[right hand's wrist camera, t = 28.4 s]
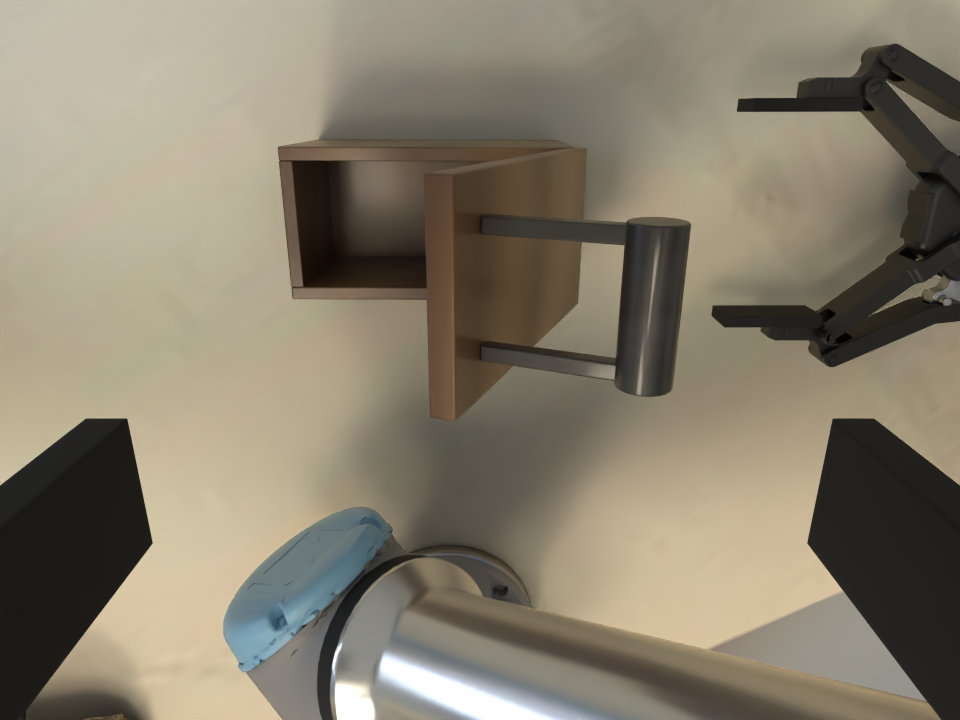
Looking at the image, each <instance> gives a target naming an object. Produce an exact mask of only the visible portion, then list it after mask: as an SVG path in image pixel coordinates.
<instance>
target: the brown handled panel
mask: <svg viewBox="0 0 960 720" xmlns="http://www.w3.org/2000/svg"><path fill="white" fill-rule="evenodd" d="M586 152H587V150H586V149H585V148H566V149H560V150H554V151H549V152H543V153H537V154H532V155H526V156H520V157H514V158H509V159H503V160H497V161H491V162H486V163H480V164H474V165H468V166H463V167H457V168H451V169H445V170H440V171H434V172H428V173H425V174H424V204H425V242H426V281H427V320H428V359H429V397H430V417H433V418H438V419H444V420H449V421H457V420H458V419H459V418H460V417H461V416H462V415H463V414H464V413H465V412H466V411H467V410H468V409H469V408H470V407H471V406H472V405H473V404H474V403H475V402H476V401H477V400H478V399H479V398H480V397H482V396H483V395H484V394H485V393H486V392H487V391H488V390H489V389H490V388H491V387H492V386H493V385H494V384H495V383H496V382H497V381H498V380H499V379H500V378H501V377H502V376H503V375H504V374H505V373H506V372H507V371H508V370H509V369H511V368H512V367H513V366H518V367H525V368H532V369H539V370H545V371H552V372H559V373H565V374H572V375H579V376H586V377H592V378H599V379H606V380H612V381H614V384H615V386H616V387H617V388H618V389H619V390H621V391H623V392H625V393H628V394H632V395H637V396H645V397H654V396H662V395H665V394H668V393H669V392H670V391H671V390H672V388H673V380H674V371H675V363H676V354H677V345H678V336H679V327H680V318H681V309H682V301H683V292H684V283H685V274H686V265H687V256H688V247H689V239H690V230H691V224H690V222H688V221H685V220H681V219H675V218H664V217H640V218H633V219H629V220H628V221H627V223H626V222H610V221H594V220H583V206H584V188H585V170H586ZM581 242H589V243H602V244H615V245H625V249H624V261H623V274H622V286H621V299H620V312H619V324H618V337H617V350H616V358H610V357H603V356H595V355H588V354H581V353H573V352H566V351H559V350H551V349H544V348H537V347H533V346H534V345H535V344H536V343H537V342H538V341H540V340H541V339H542V338H543V337H544V336H545V335H546V334H547V333H548V332H549V331H550V330H551V329H552V328H553V327H554V326H555V325H556V324H557V323H558V322H559V321H560V320H561V319H562V318H563V317H564V316H565V315H566V314H568V313H569V312H570V311H571V310H572V309H573V308H574V307H575V306H576V305H577V304H578V295H579V277H580V259H581Z"/></svg>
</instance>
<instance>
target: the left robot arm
mask: <svg viewBox="0 0 960 720" xmlns="http://www.w3.org/2000/svg"><path fill="white" fill-rule="evenodd" d="M861 63H862V64H861V66H860V68H859V70H858V71H857V73H856V74H855V75H853V76H852V77H850V78H809V79H805V80H803V81H800V82H799V84H798V91H797V97H796V98H750V99H738V107H737V112H827V111H860V112H861V113H862V114H863V115H864V116H865V117H866V118H867V119H868V120H869V121H870V123H871V124H872V125H873V126H874V127H875V128H876V129H877V130H878V131H879V132H880V133H881V134H882V136H883V137H884V138H885V139H886V140H887V141H888V142H889V143H890V144H891V145H892V146H893V147H894V148H895V150H896V151H897V152H898V153H899V154H900V155H901V156H902V157H903V158H904V159H905V160H906V162H907V163H906V165H907V167H908V168H909V169H910V170H911V171H912V172H913V173H914V174H915V176H916V177H917V178H918V179H919V180H920V182H919V183H918V185H917V186H916V188H915V189H914V190H910V193H909V198H908V215H907V217H906V219H905V221H904V223H903V225H902V230H901V234H900V237H902V238H904V243H905V244H904V245H903V246H901V247H900V248H898V249H897V250H896V251H894V252H893V253H891V254H890V255H889V256H888V257H887V258H886V262H885V263H884V264H882V265H881V266H879V267H878V268H877V269H875V270H874V271H872V272H871V273H870V274H868V275H867V276H865V277H864V278H863V279H861V280H860V281H858V282H857V283H856V284H854V285H853V286H851V287H850V288H849V289H847V290H846V291H844V292H843V293H841V294H840V295H839V296H837V297H836V298H834V299H833V300H832V301H830V302H829V303H827V304H826V305H825V306H823V307H822V308H820V309H819V310H818V311H816V312H815V311H813V310H812V309H810V308H808V307H807V306H805V305H751V306H713V308H712V317H713V318H715V319H716V320H717V321H718V322H719V323H720V324H721V325H722V326H724V327H761V332H762V333H763V334H765V335H766V336H767V337H769V338H771V339H773V340H809V342H810V345H809V347H808V349H809V352H810V353H811V354H812V355H813V356H815V357H816V358H817V359H819V360H820V361H821V362H823V363H824V364H826V365H827V366H829V367H834V366H837V365H840V364H842V363H844V362H847V361H849V360H851V359H854V358H856V357H858V356H861V355H863V354H865V353H868V352H870V351H872V350H875V349H877V348H879V347H882V346H884V345H886V344H889V343H891V342H893V341H896V340H898V339H900V338H903V337H905V336H907V335H910V334H912V333H914V332H917V331H919V330H921V329H924V328H926V327H928V326H931V325H933V324H937V323H946V322H955V321H960V155H959V156H957V155H956V154H954V153H953V152H951V151H949V150H947V149H946V148H945V147H944V146H943V145H942V144H941V143H940V142H939V141H938V140H937V138H936V137H935V136H934V135H933V134H932V133H931V132H930V131H929V129H928V128H927V127H926V126H925V125H924V124H923V123H922V122H921V121H920V119H919V118H918V117H917V116H916V115H915V114H914V113H913V112H912V111H911V109H910V108H909V107H908V106H907V105H906V104H905V103H904V102H903V101H902V99H901V98H900V97H899V96H898V95H897V94H896V93H895V92H894V91H893V89H892V88H891V87H890V86H889V85H888V84H887V83H886V82H885V81H888V82H890V83H891V84H893V85H895V86H896V87H898V88H900V89H901V90H903V91H905V92H906V93H908V94H910V95H911V96H913V97H915V98H916V99H918V100H920V101H921V102H923V103H925V104H926V105H928V106H930V107H931V108H933V109H935V110H936V111H938V112H940V113H941V114H943V115H945V116H946V117H948V118H950V119H953V120H956V121H960V82H959V81H958V80H956V79H954V78H953V77H951V76H949V75H948V74H946V73H945V72H943V71H941V70H940V69H938V68H936V67H935V66H933V65H932V64H930V63H928V62H927V61H925V60H923V59H922V58H920V57H919V56H917V55H915V54H914V53H912V52H910V51H909V50H907V49H905V48H904V47H902V46H901V45H898V44H891V45H884V46H878V47H872V48H869V49H867V50H865V52H864V53H863V54H862V57H861ZM916 259H920V260H918V261H916ZM936 274H937V275H939V276H941V277H942V278H941V281H940V283H939V284H938V285H937V286H935V287H933V288H931V289H929V290H928V289H926V290H924V291H923V292H922V297H916V298H912V299H909V300H906V301H903V302H901V303H899V304H896V305H894V306H892V307H889V308H887V309H885V310H883V311H880V312H878V313H876V314H873V315H871V314H872V313H874V312H875V311H876V310H878V309H879V308H881V307H882V306H884V305H885V304H886V303H888V302H889V301H891V300H892V299H894V298H895V297H897V296H898V295H899V294H901V293H902V292H904V291H905V290H907V289H908V288H910V287H911V286H912V285H914V284H916V283H922V282H925V281H927V280H928V279H930V278H931V277H933V276H934V275H936ZM869 315H871V316H869ZM868 316H869V317H868ZM392 531H393V530H392V528H391V525H390V524H388V523H386V522H385V521H384V519H383V518H382V517H381V516H380V515H379V514H378V512H376V511H375V510H373V509H371V508H366V507H355V508H350V509H346V510H343V511H340V512H337V513H335V514H332V515H330V516H328V517H326V518H324V519H322V520H320V521H318V522H317V523H315V524H313V525H312V526H310V527H308V528H307V529H305V530H303V531H302V532H300V533H299V534H298V535H296V536H295V537H293V538H292V539H290V540H289V541H288V542H287V543H285V544H284V545H283V546H282V547H280V548H279V549H278V550H277V551H275V552H274V553H273V554H272V555H271V556H270V557H269V558H267V559H266V560H265V561H264V562H263V563H262V564H261V565H260V566H259V567H258V568H257V569H256V570H255V571H254V572H253V573H252V574H251V575H250V577H249V578H248V579H247V580H246V581H245V582H244V584H243V585H242V586H241V587H240V589H239V590H238V592H237V593H236V595H235V597H234V599H233V600H232V601H231V603H230V605H229V607H228V609H227V611H226V614H225V618H224V623H223V633H224V637H225V640H226V642H227V644H228V646H229V647H230V649H231V650H232V652H233V654H234V655H235V657H236V659H237V660H238V662H239V665H238V666H239V669H240V670H241V671H242V672H246V673H247V674H248V676H249V677H250V678H251V680H252V681H253V682H254V683H255V685H256V686H257V687H258V689H259V690H260V691H261V692H262V694H263V695H264V696H265V698H266V699H267V700H268V701H269V703H270V704H271V705H272V707H273V708H274V709H275V710H276V712H277V713H278V714H279V716H280V717H281V718H282V720H941V719H940V718H939V716H938V715H937V714H936V712H935V711H934V710H933V709H932V707H931V706H930V705H929V703H928V702H926V701H922V700H917V699H913V698H909V697H905V696H901V695H896V694H892V693H888V692H884V691H879V690H875V689H871V688H867V687H863V686H858V685H854V684H850V683H846V682H841V681H837V680H833V679H828V678H824V677H820V676H816V675H812V674H808V673H804V672H799V671H795V670H791V669H787V668H782V667H778V666H774V665H770V664H765V663H761V662H757V661H753V660H749V659H744V658H740V657H736V656H732V655H727V654H723V653H719V652H715V651H711V650H706V649H702V648H698V647H694V646H690V645H685V644H681V643H677V642H673V641H668V640H664V639H660V638H656V637H652V636H647V635H643V634H639V633H635V632H630V631H626V630H622V629H618V628H614V627H609V626H605V625H601V624H597V623H592V622H588V621H584V620H580V619H576V618H571V617H567V616H563V615H559V614H554V613H550V612H546V611H542V610H538V609H533V608H530V603H529V599H528V595H527V592H526V590H525V588H524V586H523V584H522V582H521V581H520V579H519V578H518V577H517V575H516V574H515V573H514V572H513V571H512V570H511V569H510V568H509V567H508V566H507V565H505V564H504V563H503V562H501V561H500V560H498V559H496V558H495V557H493V556H491V555H489V554H486V553H484V552H481V551H478V550H475V549H471V548H466V547H459V546H438V547H431V548H426V549H422V550H419V551H416V552H413V553H409V552H407V551H405V550H404V549H403V548H402V547H401V546H400V545H399V544H398V543H397V541H396V540H395V538H394V537H393V535H392Z"/></svg>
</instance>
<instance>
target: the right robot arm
mask: <svg viewBox="0 0 960 720" xmlns="http://www.w3.org/2000/svg"><path fill="white" fill-rule="evenodd" d="M152 543H153V542H152V538H151V533H150V528H149V523H148V518H147V513H146V508H145V503H144V498H143V494H142V489H141V484H140V479H139V474H138V469H137V464H136V459H135V454H134V450H133V445H132V440H131V435H130V430H129V425H128V420H127V419H85V420H84V421H82V422H81V423H80V424H79V425H77V426H76V427H75V428H73V429H72V430H71V431H70V432H68V433H67V434H66V435H64V436H63V437H62V438H61V439H59V440H58V441H57V442H55V443H54V444H53V445H52V446H50V447H49V448H48V449H46V450H45V451H44V452H43V453H41V454H40V455H39V456H38V457H36V458H35V459H34V460H32V461H31V462H30V463H29V464H27V465H26V466H25V467H23V468H22V469H21V470H20V471H18V472H17V473H16V474H14V475H13V476H12V477H11V478H9V479H8V480H7V481H6V482H4V483H3V484H2V485H0V720H19V719H20V718H21V716H22V715H23V714H24V712H25V711H26V710H27V709H28V707H29V706H30V705H31V703H32V702H33V701H34V699H35V698H36V697H37V695H38V694H39V693H40V691H41V690H42V689H43V687H44V686H45V685H46V683H47V682H48V681H49V679H50V678H51V677H52V676H53V674H54V673H55V672H56V670H57V669H58V668H59V666H60V665H61V664H62V662H63V661H64V660H65V658H66V657H67V656H68V654H69V653H70V652H71V650H72V649H73V648H74V646H75V645H76V644H77V642H78V641H79V640H80V639H81V637H82V636H83V635H84V633H85V632H86V631H87V629H88V628H89V627H90V625H91V624H92V623H93V621H94V620H95V619H96V617H97V616H98V615H99V613H100V612H101V611H102V609H103V608H104V607H105V606H106V604H107V603H108V602H109V600H110V599H111V598H112V596H113V595H114V594H115V592H116V591H117V590H118V588H119V587H120V586H121V584H122V583H123V582H124V580H125V579H126V578H127V576H128V575H129V574H130V572H131V571H132V570H133V569H134V567H135V566H136V565H137V563H138V562H139V561H140V559H141V558H142V557H143V555H144V554H145V553H146V551H147V550H148V549H149V547H150V546H151V545H152ZM807 543H808V545H809V546H810V547H811V549H812V550H813V551H814V553H815V554H816V555H817V557H818V558H819V559H820V561H821V562H822V563H823V565H824V566H825V567H826V569H827V570H828V571H829V572H830V574H831V575H832V576H833V578H834V579H835V580H836V582H837V583H838V584H839V586H840V587H841V588H842V590H843V591H844V592H845V594H846V595H847V596H848V598H849V599H850V600H851V602H852V603H853V604H854V606H855V607H856V608H857V609H858V611H859V612H860V613H861V615H862V616H863V617H864V619H865V620H866V621H867V623H868V624H869V625H870V627H871V628H872V629H873V631H874V632H875V633H876V635H877V636H878V637H879V639H880V640H881V641H882V642H883V644H884V645H885V646H886V648H887V649H888V650H889V652H890V653H891V654H892V656H893V657H894V658H895V660H896V661H897V662H898V664H899V665H900V666H901V668H902V669H903V670H904V671H905V673H906V674H907V675H908V677H909V678H910V679H911V681H912V682H913V683H914V685H915V686H916V687H917V689H918V690H919V691H920V693H921V694H922V695H923V697H924V698H925V699H926V701H927V702H928V703H929V705H930V706H931V707H932V709H933V710H934V711H935V712H936V714H937V715H938V716H939V718H940V719H941V720H960V485H958V484H957V483H956V482H954V481H953V480H952V479H951V478H949V477H948V476H947V475H946V474H944V473H943V472H942V471H940V470H939V469H938V468H937V467H935V466H934V465H933V464H931V463H930V462H929V461H928V460H926V459H925V458H924V457H922V456H921V455H920V454H919V453H917V452H916V451H915V450H914V449H912V448H911V447H910V446H908V445H907V444H906V443H905V442H903V441H902V440H901V439H899V438H898V437H897V436H896V435H894V434H893V433H892V432H890V431H889V430H888V429H887V428H885V427H884V426H883V425H881V424H880V423H879V422H878V421H876V420H875V419H833V420H832V425H831V430H830V435H829V440H828V445H827V450H826V454H825V459H824V464H823V469H822V474H821V479H820V484H819V489H818V494H817V498H816V503H815V508H814V513H813V518H812V523H811V528H810V533H809V538H808V542H807Z"/></svg>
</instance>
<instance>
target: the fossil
mask: <svg viewBox="0 0 960 720" xmlns="http://www.w3.org/2000/svg"><path fill="white" fill-rule="evenodd" d="M123 716H124V715H123V714H116V715H110V716H104V717H91V718H87V719H82V720H130V719H129V718H126V717H123ZM25 719H26V711H25V712H24V714H23V715H22V716H21V718H20V719H19V720H25Z"/></svg>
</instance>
